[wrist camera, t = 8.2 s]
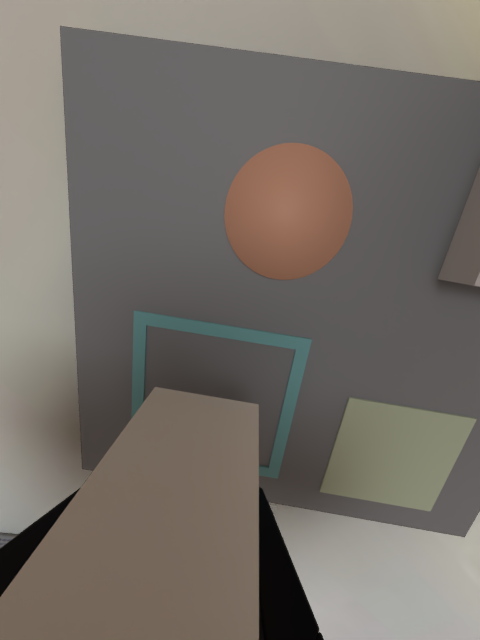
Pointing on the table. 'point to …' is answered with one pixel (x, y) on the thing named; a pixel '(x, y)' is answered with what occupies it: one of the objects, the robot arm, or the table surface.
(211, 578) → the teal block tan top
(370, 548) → the table surface
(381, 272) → the picture board
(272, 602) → the robot arm
